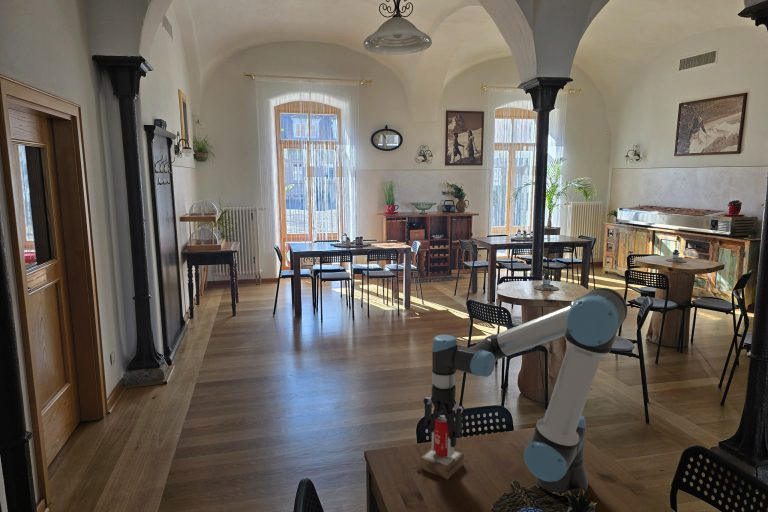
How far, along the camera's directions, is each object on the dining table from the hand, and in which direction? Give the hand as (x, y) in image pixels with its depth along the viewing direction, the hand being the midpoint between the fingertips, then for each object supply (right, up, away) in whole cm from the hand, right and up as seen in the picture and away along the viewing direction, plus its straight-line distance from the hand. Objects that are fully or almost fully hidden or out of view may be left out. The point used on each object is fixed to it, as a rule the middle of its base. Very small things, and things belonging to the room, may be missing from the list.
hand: (442, 451), depth 165 cm
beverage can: (0, -1, 0) cm, 0 cm away
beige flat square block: (0, -5, +1) cm, 5 cm away
